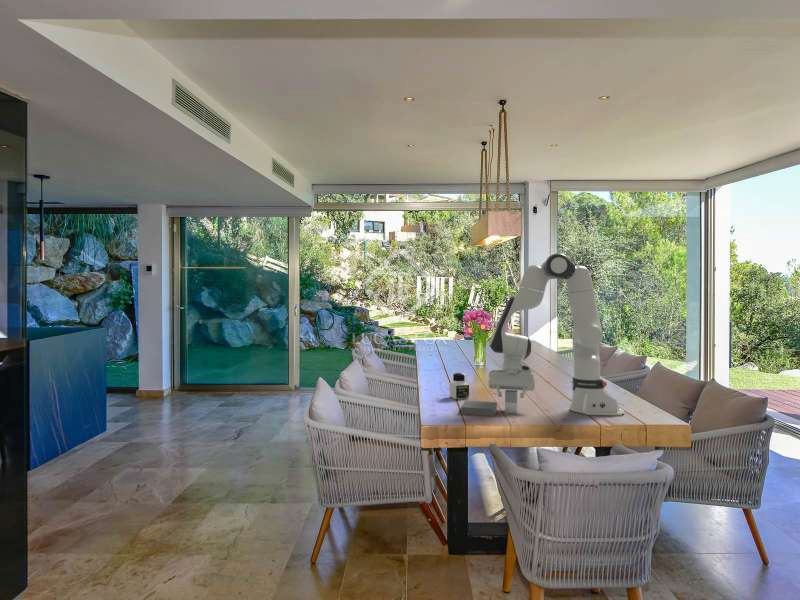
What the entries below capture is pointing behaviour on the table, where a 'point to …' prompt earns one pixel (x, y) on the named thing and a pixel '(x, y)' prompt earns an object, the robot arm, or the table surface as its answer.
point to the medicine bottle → (459, 387)
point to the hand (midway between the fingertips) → (510, 396)
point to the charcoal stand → (479, 408)
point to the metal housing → (511, 401)
